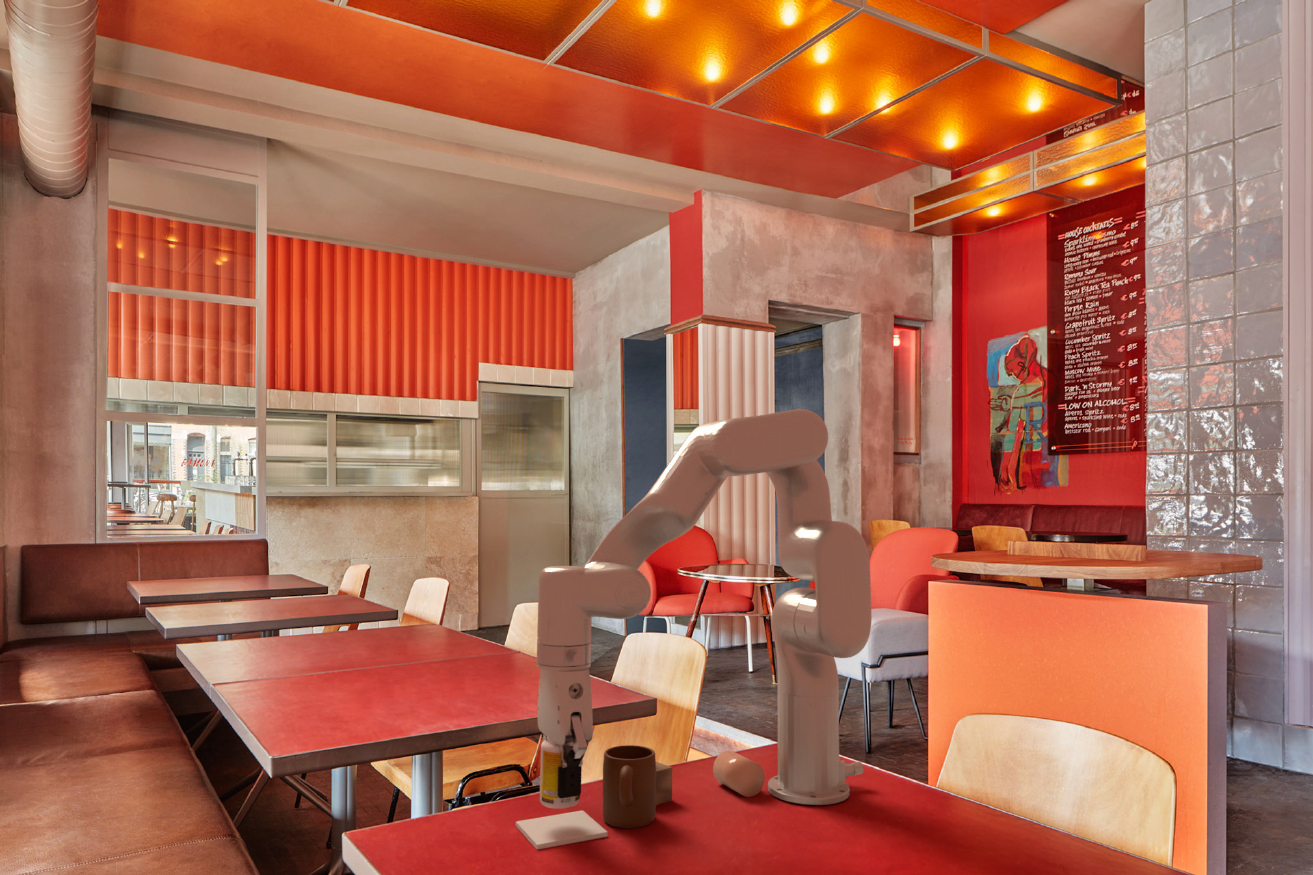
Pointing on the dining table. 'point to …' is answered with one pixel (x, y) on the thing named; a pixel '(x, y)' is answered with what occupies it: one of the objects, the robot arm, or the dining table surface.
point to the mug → (629, 786)
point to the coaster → (560, 829)
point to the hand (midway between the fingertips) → (560, 787)
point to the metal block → (663, 783)
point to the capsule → (739, 773)
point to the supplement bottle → (552, 776)
